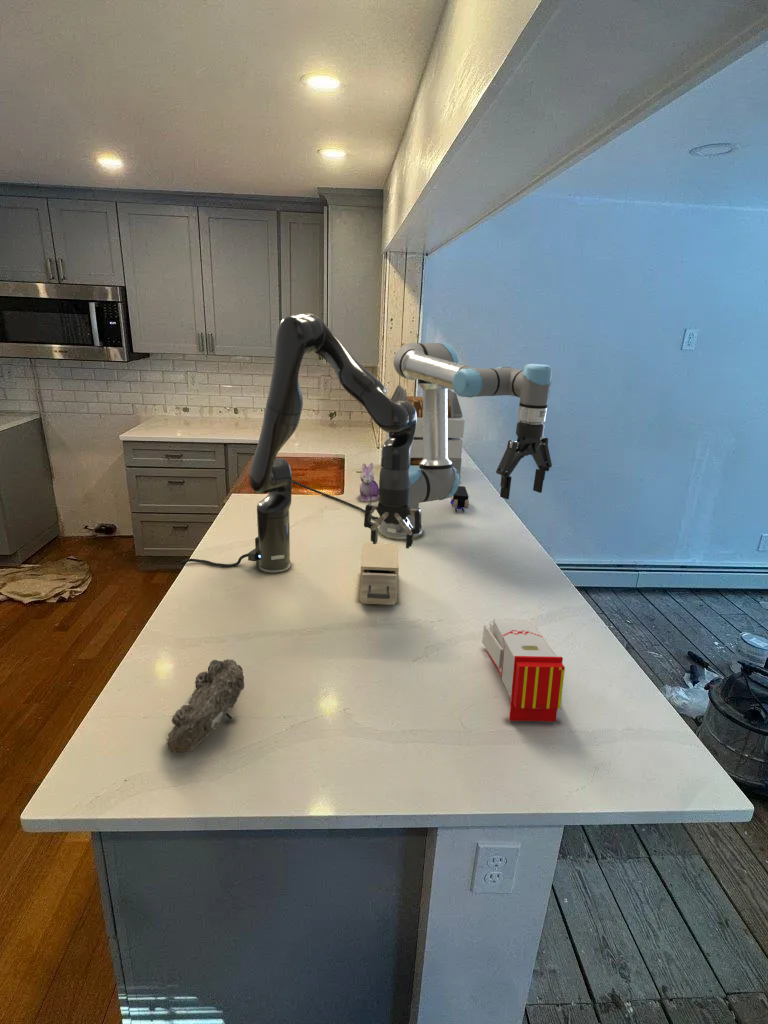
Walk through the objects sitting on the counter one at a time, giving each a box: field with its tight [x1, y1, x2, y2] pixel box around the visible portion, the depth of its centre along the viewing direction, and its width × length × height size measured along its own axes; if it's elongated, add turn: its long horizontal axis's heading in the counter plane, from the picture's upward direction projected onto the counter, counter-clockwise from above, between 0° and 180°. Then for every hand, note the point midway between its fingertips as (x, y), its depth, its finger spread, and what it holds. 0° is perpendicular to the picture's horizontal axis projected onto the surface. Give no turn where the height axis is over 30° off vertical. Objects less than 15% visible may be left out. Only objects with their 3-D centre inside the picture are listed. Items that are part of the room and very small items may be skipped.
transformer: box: [383, 384, 465, 483], centre depth 268 cm, size 34×33×41 cm
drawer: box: [361, 570, 396, 606], centre depth 153 cm, size 21×9×8 cm, turn 0°
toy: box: [481, 618, 566, 722], centre depth 122 cm, size 12×13×30 cm
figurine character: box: [450, 485, 470, 513], centre depth 227 cm, size 7×8×15 cm
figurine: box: [358, 462, 379, 503], centre depth 232 cm, size 9×10×15 cm
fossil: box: [166, 658, 245, 754], centre depth 106 cm, size 22×10×15 cm
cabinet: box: [359, 541, 400, 604], centre depth 159 cm, size 16×10×10 cm, turn 179°
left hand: (391, 545), depth 144 cm, fingers open, 8 cm apart
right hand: (521, 494), depth 164 cm, fingers open, 13 cm apart
